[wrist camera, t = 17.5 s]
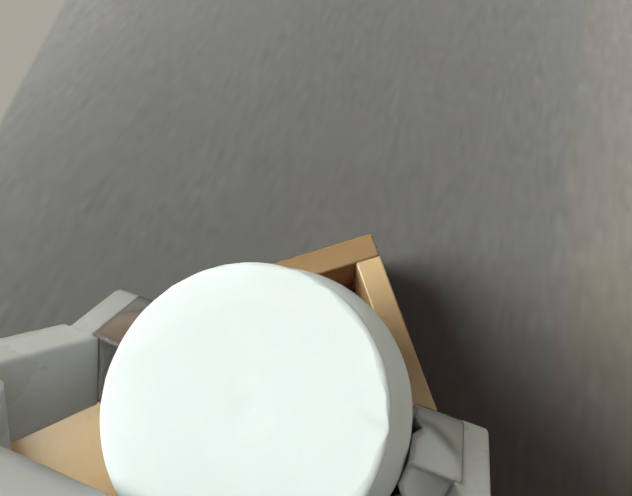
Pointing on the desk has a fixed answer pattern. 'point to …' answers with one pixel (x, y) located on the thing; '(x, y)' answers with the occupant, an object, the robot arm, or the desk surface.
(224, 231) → the desk surface
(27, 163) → the desk surface
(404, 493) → the robot arm
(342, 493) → the pill bottle
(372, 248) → the wooden compartment tray
